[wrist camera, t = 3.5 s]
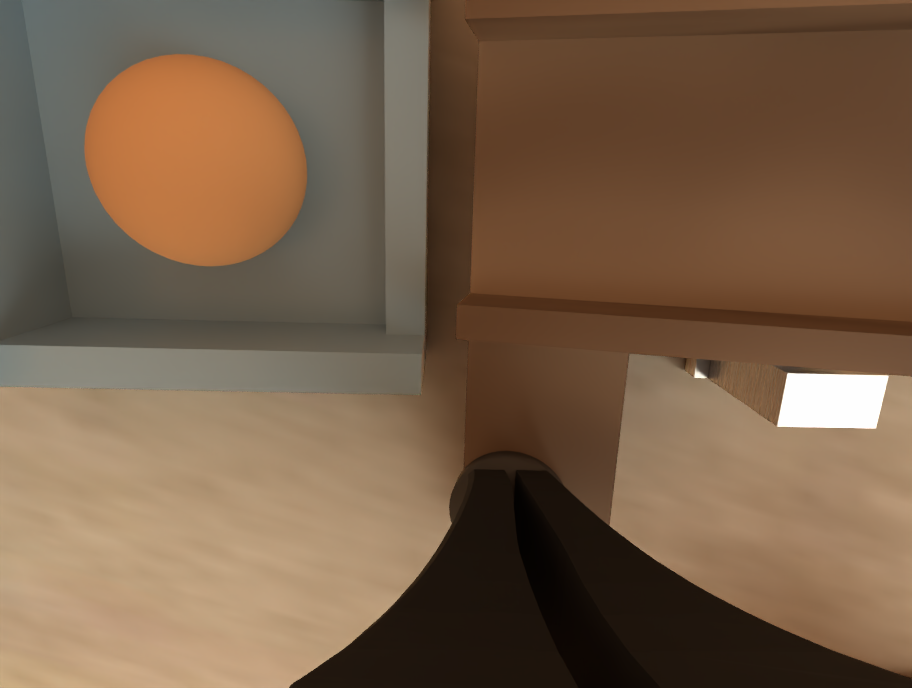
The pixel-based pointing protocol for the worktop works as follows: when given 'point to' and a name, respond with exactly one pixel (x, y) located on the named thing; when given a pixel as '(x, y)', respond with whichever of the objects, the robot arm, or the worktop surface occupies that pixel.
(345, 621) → the worktop surface
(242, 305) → the dish
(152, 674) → the worktop surface
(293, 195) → the ball
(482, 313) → the lever
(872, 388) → the fulcrum
